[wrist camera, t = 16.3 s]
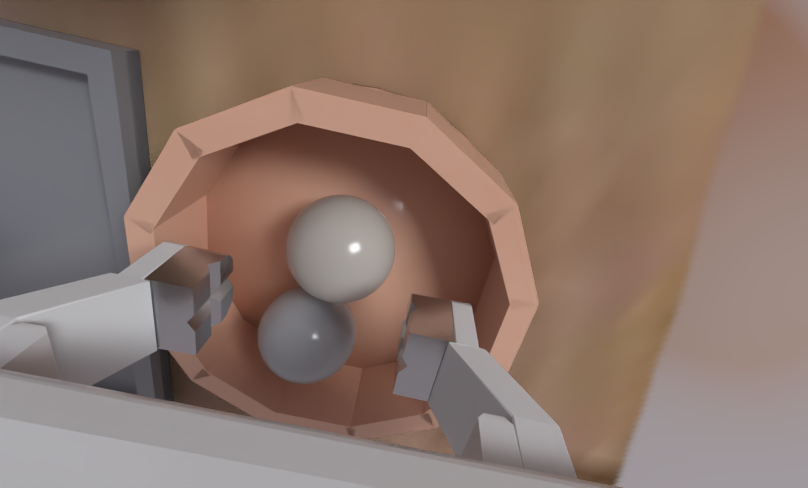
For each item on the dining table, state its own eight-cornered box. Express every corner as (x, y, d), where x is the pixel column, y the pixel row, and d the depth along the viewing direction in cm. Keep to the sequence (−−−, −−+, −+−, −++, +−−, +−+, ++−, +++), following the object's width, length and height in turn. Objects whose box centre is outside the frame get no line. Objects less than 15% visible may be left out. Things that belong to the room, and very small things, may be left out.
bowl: (200, 339, 17) (149, 402, 14) (186, 43, 12) (99, 42, 9) (460, 390, 18) (466, 463, 15) (561, 129, 12) (605, 157, 9)
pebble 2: (303, 254, 15) (229, 305, 12) (379, 294, 14) (316, 359, 11) (303, 316, 17) (239, 371, 14) (368, 355, 16) (313, 422, 13)
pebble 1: (308, 170, 13) (271, 208, 10) (407, 192, 13) (402, 235, 10) (299, 257, 14) (265, 313, 11) (389, 276, 15) (379, 336, 12)
